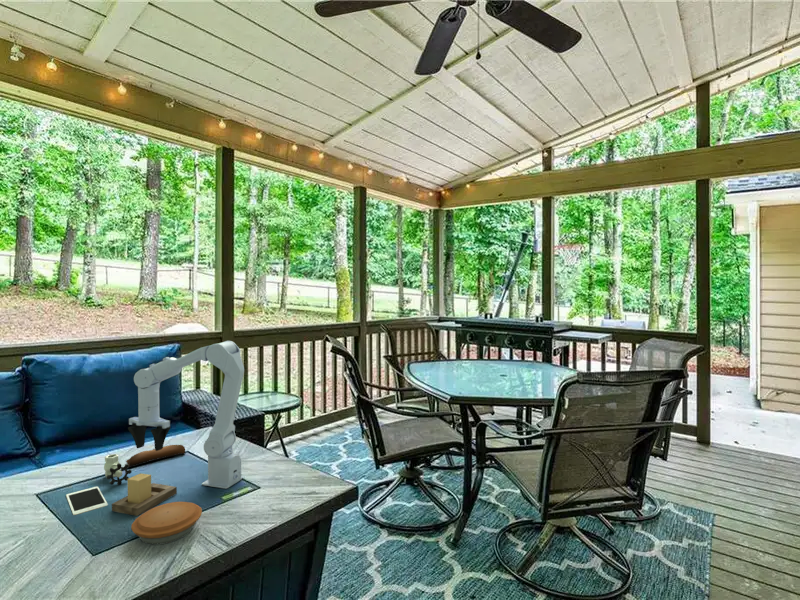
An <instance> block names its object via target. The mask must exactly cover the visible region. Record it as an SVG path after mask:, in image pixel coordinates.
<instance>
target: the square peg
mask: <svg viewBox="0 0 800 600" xmlns="http://www.w3.org/2000/svg"><path fill="white" fill-rule="evenodd" d="M151 484H152V474H146V473H141V472H140V473H138V474H136V475H134V476H131V477H129V479H127V496H128V502H130V503H136V504H139V503H141V502H143V501H145V500H147V499H148V498H150V497H151Z"/></svg>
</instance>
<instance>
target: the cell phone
mask: <svg viewBox="0 0 800 600" xmlns="http://www.w3.org/2000/svg"><path fill="white" fill-rule="evenodd" d="M65 496H66V500H67V503H68V505H69V507H70V509H71V513H72V515H73V516H76V515H81V514H83V513H87V512H91V511H94V510H97V509H102V508H105V507H107V506H108V505H109V503H108V502H107V500H106V498H105V497H104V494H103V493H102V491H101V489H100V488H99V486H93V487H89V488H86V489H82V490H78V491H75V492H71V493H70V492H69V493H67V494H65Z"/></svg>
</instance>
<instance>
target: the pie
mask: <svg viewBox="0 0 800 600" xmlns="http://www.w3.org/2000/svg"><path fill="white" fill-rule="evenodd" d="M202 513H203V509H202V507H201V506H199V505H198V504H196V503H194V502H189V501H172V502H168V503H164V504H158V505H156V506H154V507H152V508H150V509H149V510H147V511H145V512H143V513H142V514H140V515H138V516H137V517H136V518H135V520H134V521H133V522H132V523H131V531H132V532H133V534H135V535H136V536H137V537H138V538H139V539H140V540H141V541H142V542H143V543H145V544H147V545H154V546H155V545H164V544H168V543H169V544H170V543H171V542H175V541H178V540H179V539H182V538H184V537H185V536H187V535H189V534H190V533H191V532H192V530H193V528H194V526H195V525H196V523H197V522H198V521H199V519H200V518H201V517H202Z"/></svg>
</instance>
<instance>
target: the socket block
mask: <svg viewBox="0 0 800 600" xmlns="http://www.w3.org/2000/svg"><path fill="white" fill-rule="evenodd" d="M177 491H178V490H177V486H173V485H166V484H160V483H155V482H153V483H152V482H151V497H150V498H148V499H147V500H145V501H143V502H141V503H139V504H136V503H130V502H128V495H127V496H125V497H122V498H120V499H118V500H116V501H115V502H112V503H111V512H115V513H119V514H124V515H125V514H126V515H129V516H135V517H139V516H140V515H142V514H143V513H145V512H147V511H148V510H150V509H152V508H154V507H157V506H158V505H160V504H161V503H163V502H164V501H167V500H168V499H170V498H171V496H172V497H173V496H175V495H177V494H178V492H177Z"/></svg>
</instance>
